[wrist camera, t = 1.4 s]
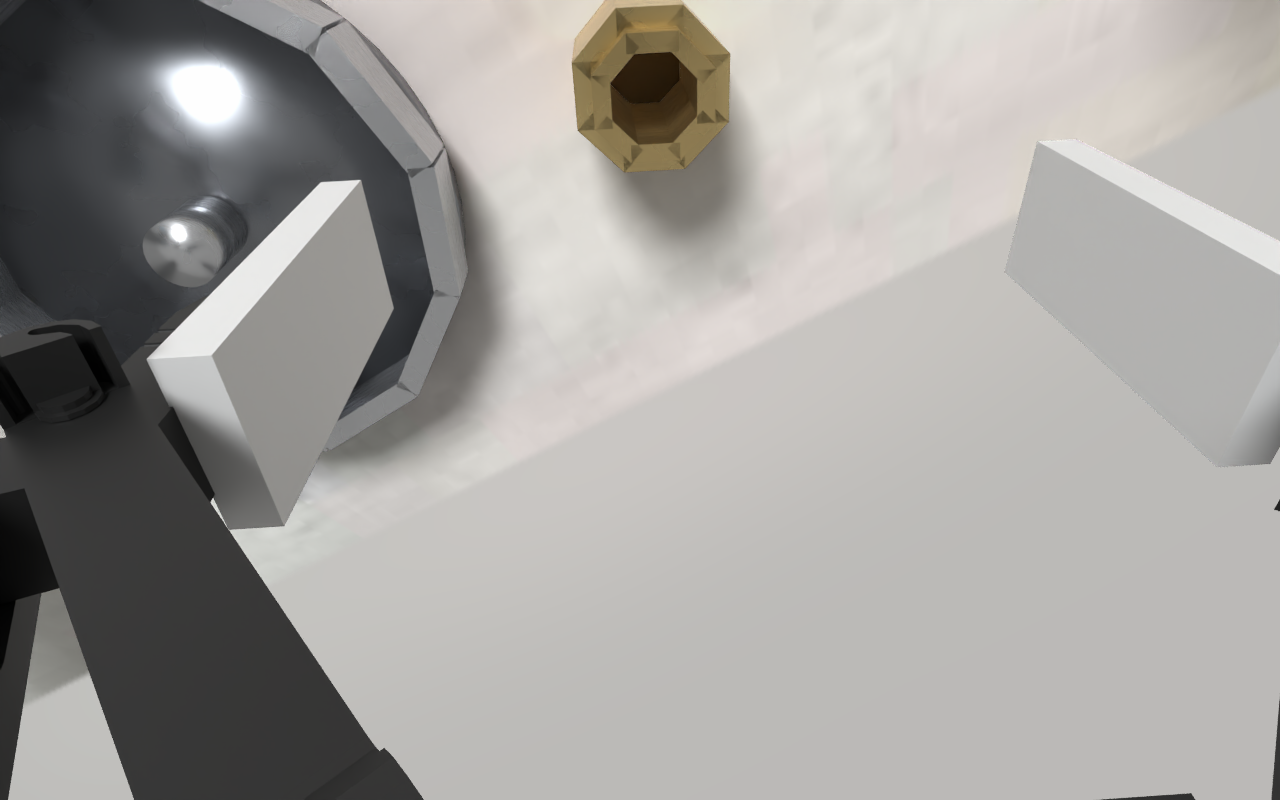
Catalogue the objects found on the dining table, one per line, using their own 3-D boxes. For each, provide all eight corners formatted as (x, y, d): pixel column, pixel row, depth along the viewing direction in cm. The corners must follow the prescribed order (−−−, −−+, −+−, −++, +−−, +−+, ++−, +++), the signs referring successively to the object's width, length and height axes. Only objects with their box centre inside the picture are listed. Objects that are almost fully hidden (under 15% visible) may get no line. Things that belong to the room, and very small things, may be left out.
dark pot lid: (94, 422, 37) (42, 476, 33) (-169, -45, 26) (-288, -37, 22) (497, 396, 37) (487, 447, 34) (411, -76, 26) (383, -72, 23)
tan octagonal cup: (583, 137, 30) (581, 184, 26) (571, -7, 28) (566, 14, 23) (709, 130, 31) (731, 175, 26) (710, -14, 28) (736, 5, 23)
